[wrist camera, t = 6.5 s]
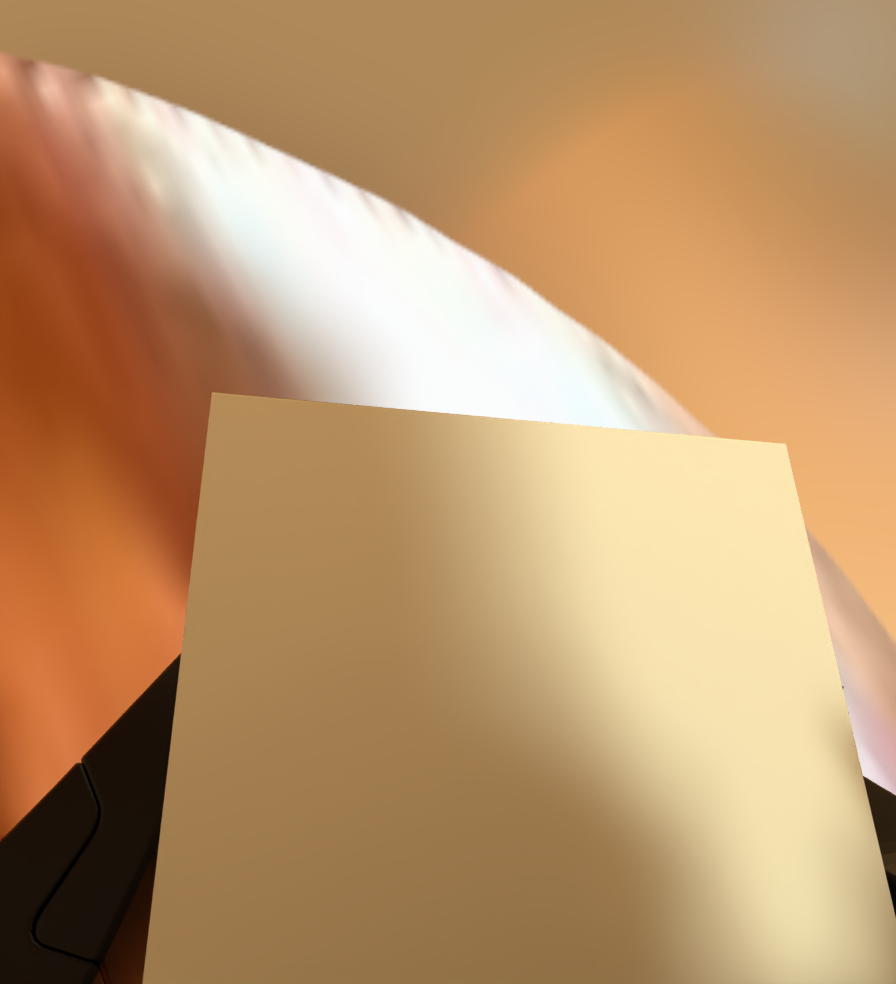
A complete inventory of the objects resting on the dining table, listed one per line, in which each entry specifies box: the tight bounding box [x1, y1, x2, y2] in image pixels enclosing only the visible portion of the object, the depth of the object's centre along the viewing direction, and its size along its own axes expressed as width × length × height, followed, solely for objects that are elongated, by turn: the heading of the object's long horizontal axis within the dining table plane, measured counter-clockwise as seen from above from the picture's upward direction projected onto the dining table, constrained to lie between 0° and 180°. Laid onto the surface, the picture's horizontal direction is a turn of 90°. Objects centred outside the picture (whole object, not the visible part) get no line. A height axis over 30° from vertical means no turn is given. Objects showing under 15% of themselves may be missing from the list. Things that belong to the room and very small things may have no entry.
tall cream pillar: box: [142, 392, 896, 984], centre depth 9 cm, size 6×6×12 cm
